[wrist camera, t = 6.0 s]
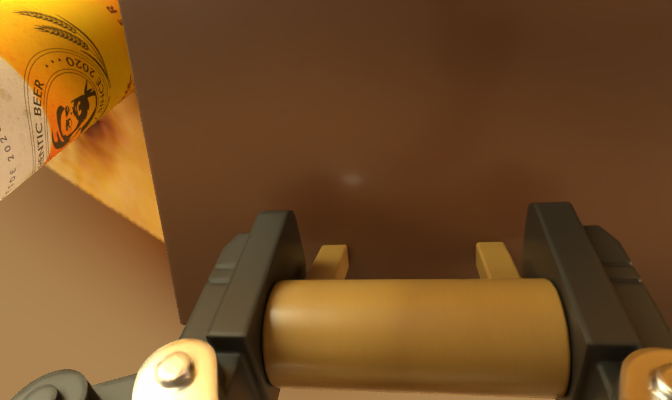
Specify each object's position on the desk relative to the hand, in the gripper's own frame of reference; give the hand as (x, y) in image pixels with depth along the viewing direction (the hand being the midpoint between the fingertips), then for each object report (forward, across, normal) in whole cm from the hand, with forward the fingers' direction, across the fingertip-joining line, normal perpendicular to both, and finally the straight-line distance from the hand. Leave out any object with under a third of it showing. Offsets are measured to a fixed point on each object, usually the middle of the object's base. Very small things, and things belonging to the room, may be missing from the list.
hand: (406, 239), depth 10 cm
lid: (+4, 0, -4) cm, 5 cm away
